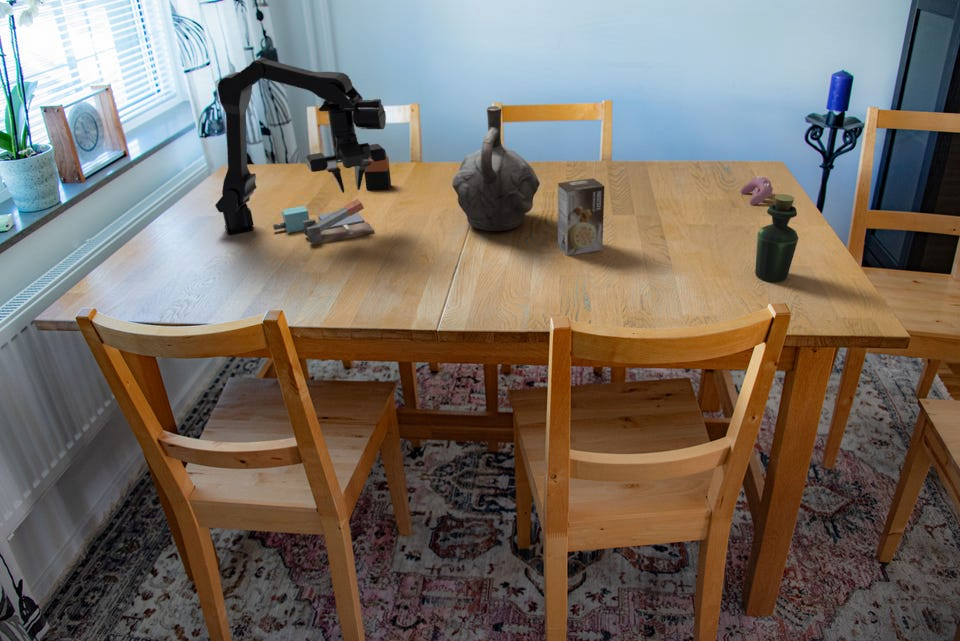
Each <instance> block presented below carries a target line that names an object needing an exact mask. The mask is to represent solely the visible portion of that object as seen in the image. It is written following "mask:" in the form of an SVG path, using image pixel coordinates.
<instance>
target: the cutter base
mask: <svg viewBox="0 0 960 641" xmlns="http://www.w3.org/2000/svg"><path fill="white" fill-rule="evenodd" d="M315 223H317V221H316V218H311V219H310V218H309V220H305V221H303V226H304V230H303V231H304V235H305V237H306V236H307V239H308V242H309V244H311V245H312V246H315V245H319V244H320V245H321V244H325V243H330V242H334V241H335V242H336V241H340V240H346V239H350V238H354V237H360V236H365V235H370V234H375V229H374V228H373V227H372V226H371V225H370V223H369V222H368V221H366V222H365V223H360V224H354V225H349V226H348V225H347V224H346V225H343V227H339V228H334V229H329V230H324V231H322V232H321V231H320V226H319V225H317V226H312V227H310V226H311V225H313V224H315Z"/></svg>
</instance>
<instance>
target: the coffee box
mask: <svg viewBox="0 0 960 641" xmlns="http://www.w3.org/2000/svg"><path fill="white" fill-rule="evenodd" d="M557 183H558V184H557V186H558V187H557V189H558V190H557V191H558V192H557V194H558V196H557V204H558V205H557V246H558V248H559V249H560V250H561V251H562V252H563V253H564V254H565V255H566V256H567V255H568V256H569V255H570V256H576V255H581V254H586V253H587V254H588V253H594V252H601V251H603V242H604V239H603V238H604V215H605V214H604V212H605V210H604V208H605V185H603V184H602V182H600V181H598V180H597V179H595V178H593V177H592V178H587V179H577V180H572V181H570V180H569V181H563V182H557Z"/></svg>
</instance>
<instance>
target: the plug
mask: <svg viewBox="0 0 960 641" xmlns="http://www.w3.org/2000/svg"><path fill="white" fill-rule="evenodd" d="M281 214H282V219H283V222H280V223H275V224H272V228H273V230H274V231H277V230H281V229H284V230H285V231H286V232H287V234H289V233H294V232H300V231H304V226H303V221H305V220H310V215H309V210H308V209H307V207H306V206H305V205H303V206H297V207H291V208H285V209H281Z"/></svg>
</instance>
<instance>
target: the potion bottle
mask: <svg viewBox="0 0 960 641" xmlns="http://www.w3.org/2000/svg"><path fill="white" fill-rule="evenodd" d="M794 201H795V196H793V195H790V194H786V193H785V194H783V193H780V194H776V195H774V203H773V204H770V205H769V207H768V209H767V211H766V212H767V214H768V215H769V216H770V217H771V221H772V223H770V224H767V225H765V226H762V227H761V229H760V230H758V232H757V239H756V256H755V271H754V273H755V276H756V277H757V278H758V279H760V280H761V281H764V282H769V283H780V282H784V281H785V280H787V278H788V276H789V273H790V269H791V266H792V261H793V259H794V255H795V252H796V249H797V245H798V241H799V235H798V233H797V231H796V230H795V229H794V228H792V227H790V226H789V222H790V221H791V219H793V218H795V217H797V215H798V212H797V208H796V207H795V206H794V205H793V203H794Z"/></svg>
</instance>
